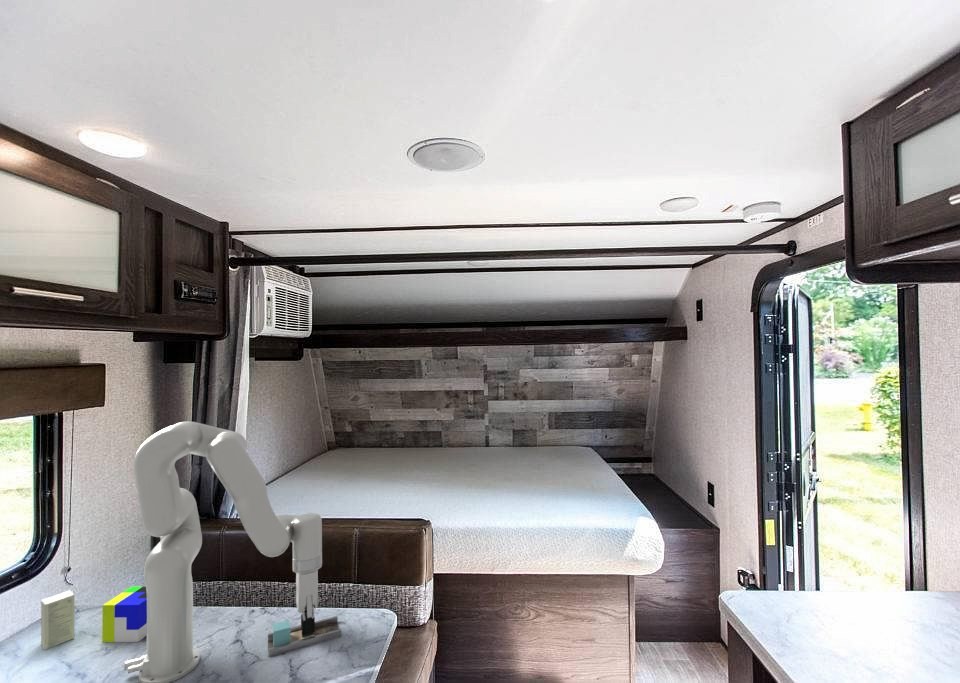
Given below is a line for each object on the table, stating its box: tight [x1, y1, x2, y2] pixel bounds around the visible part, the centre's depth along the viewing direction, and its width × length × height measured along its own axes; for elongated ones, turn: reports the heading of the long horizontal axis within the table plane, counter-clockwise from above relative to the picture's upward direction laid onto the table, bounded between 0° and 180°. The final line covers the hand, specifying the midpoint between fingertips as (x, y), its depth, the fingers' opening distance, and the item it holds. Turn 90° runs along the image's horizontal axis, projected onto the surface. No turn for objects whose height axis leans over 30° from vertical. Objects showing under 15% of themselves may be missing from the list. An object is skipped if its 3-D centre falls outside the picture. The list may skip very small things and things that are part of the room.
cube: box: [272, 619, 291, 647], centre depth 119 cm, size 4×4×4 cm
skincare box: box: [40, 589, 75, 650], centre depth 124 cm, size 6×4×12 cm
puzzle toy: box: [101, 586, 147, 643], centre depth 128 cm, size 10×10×10 cm
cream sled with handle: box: [272, 615, 314, 647], centre depth 121 cm, size 10×6×6 cm, turn 116°
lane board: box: [267, 615, 343, 658], centre depth 122 cm, size 18×8×2 cm, turn 116°
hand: (307, 630), depth 122 cm, fingers closed on cream sled with handle, 2 cm apart
